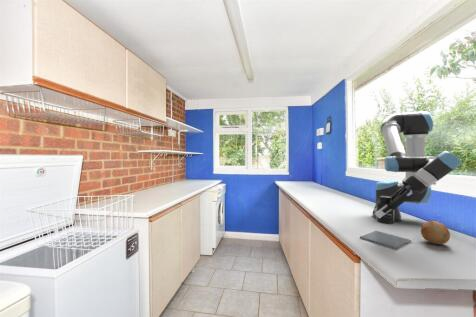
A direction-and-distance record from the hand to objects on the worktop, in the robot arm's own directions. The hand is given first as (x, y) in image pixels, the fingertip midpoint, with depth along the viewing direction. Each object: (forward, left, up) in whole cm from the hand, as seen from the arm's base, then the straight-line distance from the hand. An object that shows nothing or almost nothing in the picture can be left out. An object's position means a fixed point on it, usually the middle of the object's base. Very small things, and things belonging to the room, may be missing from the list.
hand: (376, 214), depth 103 cm
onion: (-16, +17, -12) cm, 26 cm away
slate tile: (-2, +3, -12) cm, 12 cm away
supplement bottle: (-2, +3, -4) cm, 5 cm away
